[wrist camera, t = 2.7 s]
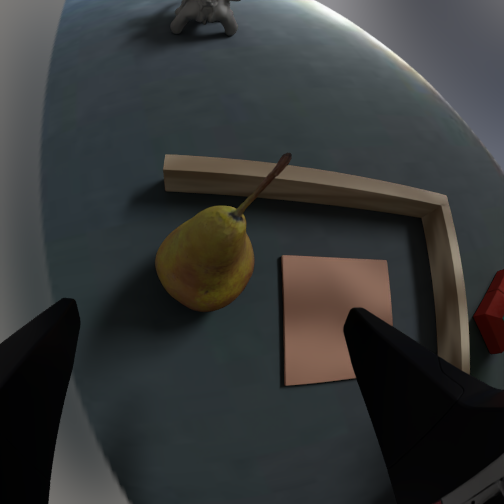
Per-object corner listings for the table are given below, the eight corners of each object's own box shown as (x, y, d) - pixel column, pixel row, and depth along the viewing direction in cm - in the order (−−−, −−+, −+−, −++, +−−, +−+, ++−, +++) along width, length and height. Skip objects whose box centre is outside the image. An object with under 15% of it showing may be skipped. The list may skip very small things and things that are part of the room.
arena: (445, 395, 21) (469, 397, 18) (157, 435, 16) (152, 449, 14) (427, 208, 27) (446, 195, 24) (167, 177, 22) (165, 154, 19)
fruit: (166, 229, 21) (152, 107, 10) (247, 240, 22) (310, 133, 10) (154, 310, 19) (110, 260, 8) (241, 320, 20) (312, 285, 9)
